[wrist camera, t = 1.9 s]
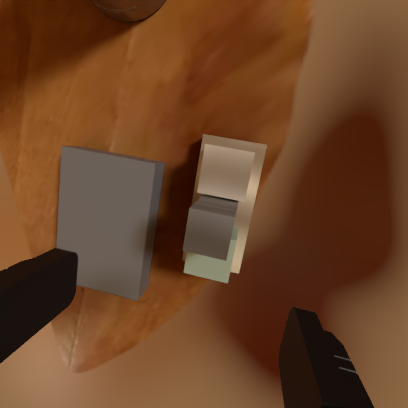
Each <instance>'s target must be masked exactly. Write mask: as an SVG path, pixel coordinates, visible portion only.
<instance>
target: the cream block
mask: <svg viewBox="0 0 408 408" xmlns="http://www.w3.org/2000/svg"><path fill="white" fill-rule="evenodd" d="M254 156H255V152H249V151H243V150H238V149H232V148H226V147H221V146H215V145H209V144H205V148H204V154H203V160H202V165H201V171H200V177H199V183H198V189H197V193H202V194H207V195H212V196H217V197H222V198H227V199H232V200H237V201H242V202H245V198H246V193H247V189H248V184H249V179H250V175H251V170H252V165H253V160H254Z"/></svg>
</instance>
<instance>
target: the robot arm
mask: <svg viewBox="0 0 408 408" xmlns="http://www.w3.org/2000/svg"><path fill="white" fill-rule="evenodd" d="M91 1H92V2H93V3H94V4H95V5H96V6H98V7H99V8H100V9H101V10H102V11H103V12H104V13H105V14H106V15H108V16H110V17H112V18H114V19H116V20H120V21H124V22H134V21H138V20H142V19H144V18H146V17H148V16H150V15H152V14H153V13H154V12H155V11H156V10H158V9H159V8H160V7H161V5H162V4H163V3H164V1H165V0H91ZM77 270H78V255H77V253H75V252H71V251H67V250H63V249H59V248H54V249H52V250H50V251H48V252H46V253H44V254H42V255H40V256H37V257H35V258H32V259H29V260H25V261H21V262H19V263H17V264H15V265H13V266H11V267H9V268H8V269H4V270H2V271H0V363H1V362H3V361H4V360H5V359H6V358H7V357H8V356H10V355H11V354H12V353H13V352H15V351H16V350H17V349H18V348H19V347H20V346H21V345H23V344H24V343H25V342H26V341H28V340H29V339H30V338H31V337H32V336H34V335H35V334H36V333H37V332H38V331H39V330H41V329H42V328H43V327H44V326H45V325H47V324H48V323H49V322H50V321H51V320H52V319H54V318H55V317H56V316H57V315H58V314H60V313H61V312H62V311H63V310H64V309H66V308H67V307H68V306H69V305H70V303H71V302H72V300H73V298H74V296H75V292H76V283H77ZM278 360H279V361H278V363H279V372H280V379H281V386H282V392H283V400H284V407H285V408H374V406H373V404H372V402H371V400H370V398H369V396H368V394H367V392H366V390H365V388H364V386H363V384H362V382H361V380H360V378H359V376H358V374H356V370H355V368H354V366H353V364H352V362H351V361H350V358H349V356H348V354H347V352H346V350H345V348H344V346H343V344H342V343H341V342H340V341H339V340H338V339H337V338H336V337H335V336H334V335H333V334H332V333H331V332H328V331H325V330H323V328H322V325H321V323H320V321H319V319H318V316H317V314H316V313H315V312H312V311H308V310H304V309H300V308H296V307H292V308H291V309H290V312H289V315H288V319H287V322H286V326H285V330H284V333H283V337H282V341H281V344H280V349H279V359H278Z"/></svg>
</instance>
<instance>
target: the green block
mask: <svg viewBox="0 0 408 408" xmlns="http://www.w3.org/2000/svg"><path fill="white" fill-rule="evenodd" d="M237 235H238V227H234V226H233V231H232V236H231V241H230V246H229V251H228V255H227V260H226V261H225V260H220V259H216V258H212V257H207V256H203V255H199V254H194V253H190V252H187V255H186V261H185V267H184V273H187V274H191V275H195V276H200V277H204V278H208V279H212V280H217V281H221V282H225V283H228V279H229V275H230V270H231V265H232V261H233V256H234V251H235V246H236V242H237Z"/></svg>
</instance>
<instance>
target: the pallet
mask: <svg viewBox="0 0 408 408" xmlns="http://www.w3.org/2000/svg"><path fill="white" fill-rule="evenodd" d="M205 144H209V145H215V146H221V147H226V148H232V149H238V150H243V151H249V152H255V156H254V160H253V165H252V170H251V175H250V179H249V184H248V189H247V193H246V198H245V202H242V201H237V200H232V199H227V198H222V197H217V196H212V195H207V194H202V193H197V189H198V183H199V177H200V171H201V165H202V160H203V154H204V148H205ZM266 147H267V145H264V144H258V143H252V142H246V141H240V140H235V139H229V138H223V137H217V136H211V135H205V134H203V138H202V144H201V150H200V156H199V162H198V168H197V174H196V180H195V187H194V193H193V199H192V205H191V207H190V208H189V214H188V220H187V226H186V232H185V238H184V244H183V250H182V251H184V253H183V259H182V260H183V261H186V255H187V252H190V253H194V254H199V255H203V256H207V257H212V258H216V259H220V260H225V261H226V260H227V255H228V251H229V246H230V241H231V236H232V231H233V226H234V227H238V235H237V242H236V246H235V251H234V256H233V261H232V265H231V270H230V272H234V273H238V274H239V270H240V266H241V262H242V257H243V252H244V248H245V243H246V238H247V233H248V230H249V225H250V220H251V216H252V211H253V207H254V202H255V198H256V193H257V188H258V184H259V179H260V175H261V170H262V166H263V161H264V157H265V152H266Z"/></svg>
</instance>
